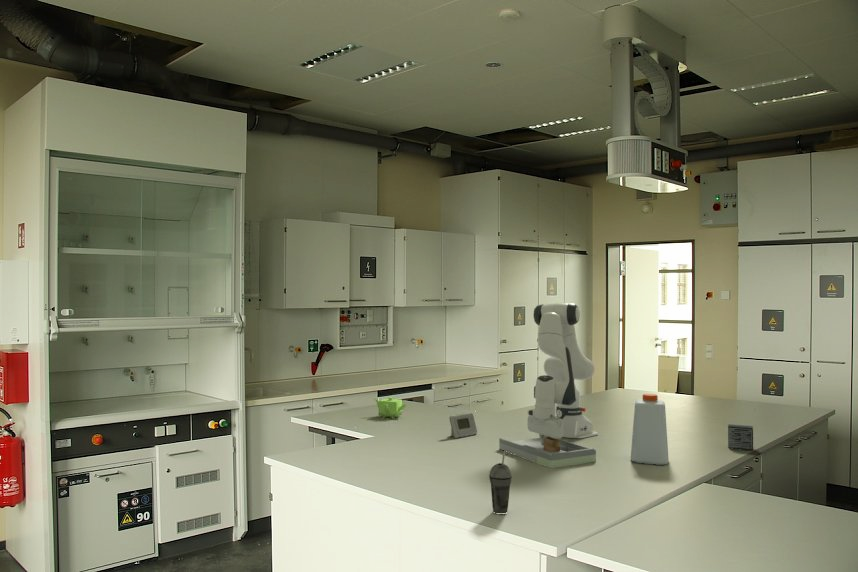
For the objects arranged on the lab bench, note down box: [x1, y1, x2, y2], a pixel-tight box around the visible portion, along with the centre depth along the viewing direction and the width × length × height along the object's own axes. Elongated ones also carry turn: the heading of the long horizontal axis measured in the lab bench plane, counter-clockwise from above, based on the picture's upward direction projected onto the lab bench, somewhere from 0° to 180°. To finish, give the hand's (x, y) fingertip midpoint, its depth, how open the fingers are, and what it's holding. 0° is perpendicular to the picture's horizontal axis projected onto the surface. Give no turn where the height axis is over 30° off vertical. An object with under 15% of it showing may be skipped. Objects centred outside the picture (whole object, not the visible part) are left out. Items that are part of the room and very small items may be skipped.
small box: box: [727, 423, 754, 452], centre depth 306 cm, size 11×6×10 cm, turn 65°
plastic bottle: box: [630, 393, 669, 466], centre depth 281 cm, size 15×15×28 cm
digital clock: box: [449, 412, 478, 439], centre depth 326 cm, size 16×9×11 cm, turn 122°
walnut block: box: [543, 437, 561, 452], centre depth 284 cm, size 5×5×5 cm
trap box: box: [498, 437, 597, 469], centre depth 288 cm, size 24×36×6 cm, turn 29°
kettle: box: [373, 396, 408, 420], centre depth 373 cm, size 15×14×11 cm
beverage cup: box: [488, 450, 513, 513], centre depth 211 cm, size 7×7×20 cm
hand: (544, 445), depth 288 cm, fingers closed
